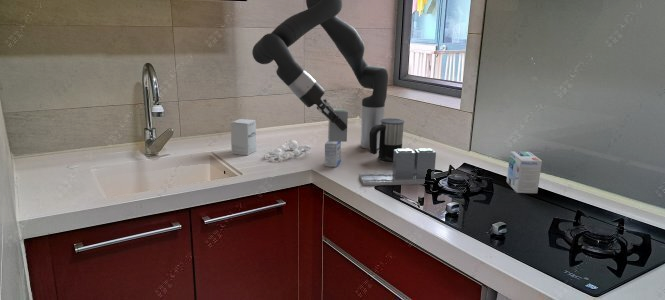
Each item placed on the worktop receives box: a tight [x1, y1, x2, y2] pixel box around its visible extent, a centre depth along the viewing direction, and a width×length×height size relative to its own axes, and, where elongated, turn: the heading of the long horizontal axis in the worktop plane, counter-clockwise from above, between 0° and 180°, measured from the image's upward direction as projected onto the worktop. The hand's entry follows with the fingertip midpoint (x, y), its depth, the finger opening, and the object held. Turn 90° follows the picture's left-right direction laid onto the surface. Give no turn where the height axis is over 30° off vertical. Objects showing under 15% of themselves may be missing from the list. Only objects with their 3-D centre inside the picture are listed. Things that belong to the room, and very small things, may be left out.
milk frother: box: [369, 118, 406, 162], centre depth 177 cm, size 14×16×15 cm
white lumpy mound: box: [263, 140, 312, 163], centre depth 183 cm, size 19×14×4 cm
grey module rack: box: [358, 148, 437, 187], centre depth 157 cm, size 8×24×11 cm, turn 97°
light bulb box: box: [506, 150, 543, 194], centre depth 152 cm, size 11×7×11 cm, turn 178°
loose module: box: [327, 108, 349, 143], centre depth 150 cm, size 4×6×10 cm, turn 97°
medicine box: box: [324, 140, 342, 168], centre depth 174 cm, size 8×4×9 cm, turn 168°
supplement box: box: [230, 118, 257, 156], centre depth 186 cm, size 7×7×13 cm
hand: (344, 127), depth 151 cm, fingers closed on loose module, 3 cm apart
